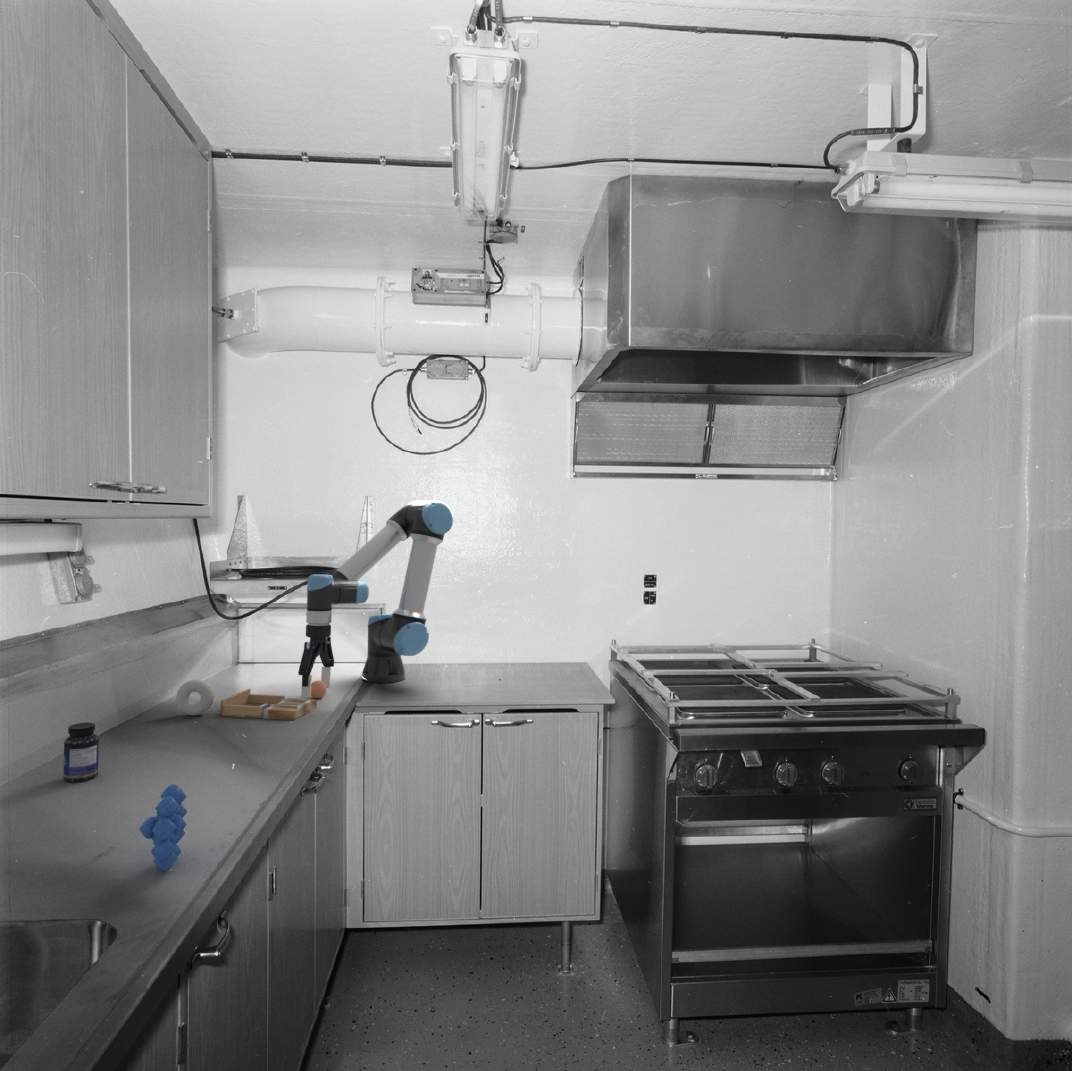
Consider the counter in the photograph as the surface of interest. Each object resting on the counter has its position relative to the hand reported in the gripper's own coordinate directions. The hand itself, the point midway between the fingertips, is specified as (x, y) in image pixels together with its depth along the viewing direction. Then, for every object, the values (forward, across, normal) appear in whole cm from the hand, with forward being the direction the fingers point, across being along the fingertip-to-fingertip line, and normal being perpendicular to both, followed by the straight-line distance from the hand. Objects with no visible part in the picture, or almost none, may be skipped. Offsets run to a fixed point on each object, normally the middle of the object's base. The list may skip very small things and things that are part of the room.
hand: (316, 692), depth 218 cm
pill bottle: (+3, +75, -17) cm, 77 cm away
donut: (+3, +26, -24) cm, 35 cm away
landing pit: (+2, +18, -10) cm, 21 cm away
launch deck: (+2, +18, +1) cm, 18 cm away
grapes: (+3, +106, +24) cm, 108 cm away
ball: (-1, 0, 0) cm, 1 cm away
